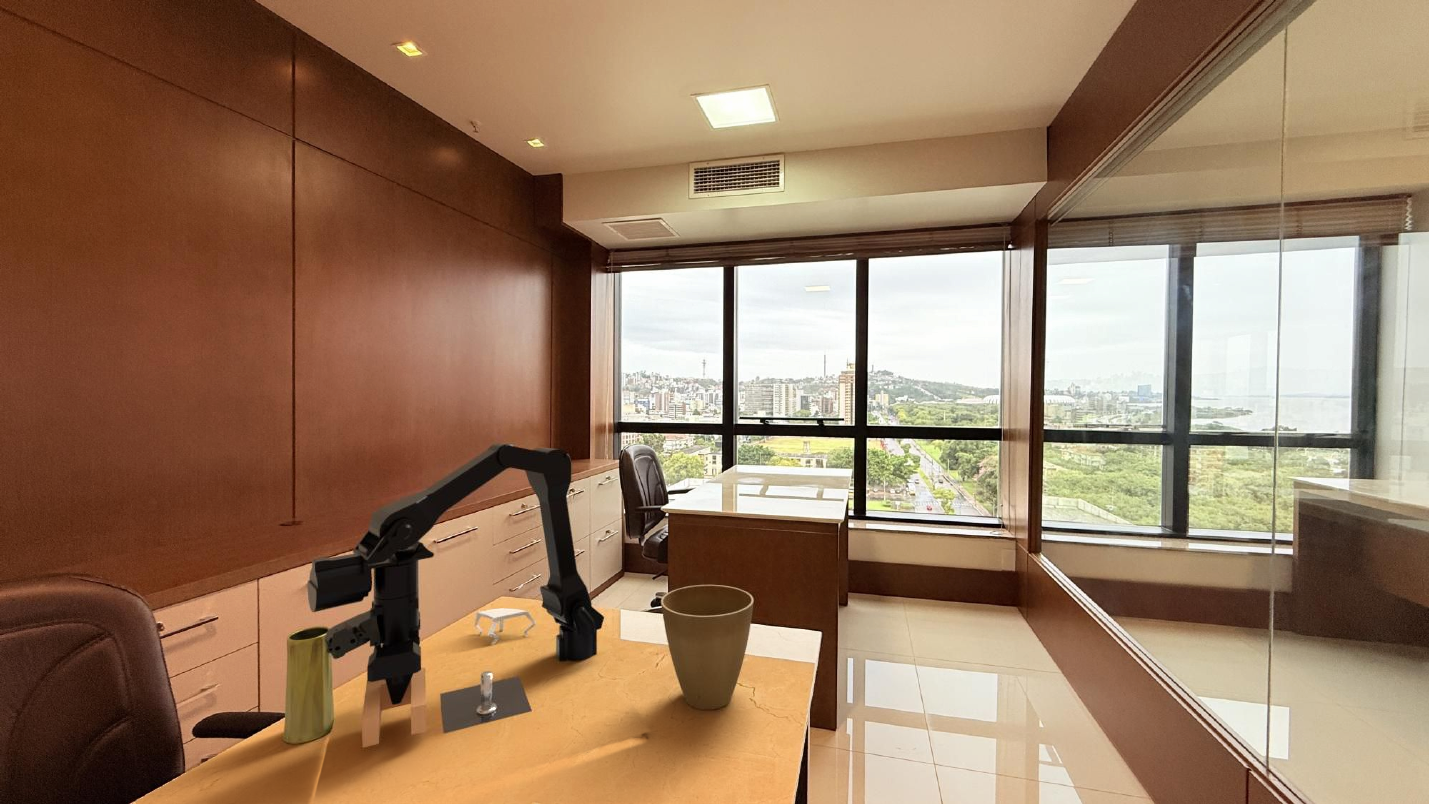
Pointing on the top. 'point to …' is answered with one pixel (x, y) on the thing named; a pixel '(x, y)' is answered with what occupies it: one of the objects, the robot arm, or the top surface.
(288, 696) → the vase
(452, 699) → the peg stand
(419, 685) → the c link
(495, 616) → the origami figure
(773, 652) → the top surface
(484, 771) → the top surface
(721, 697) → the plant pot
